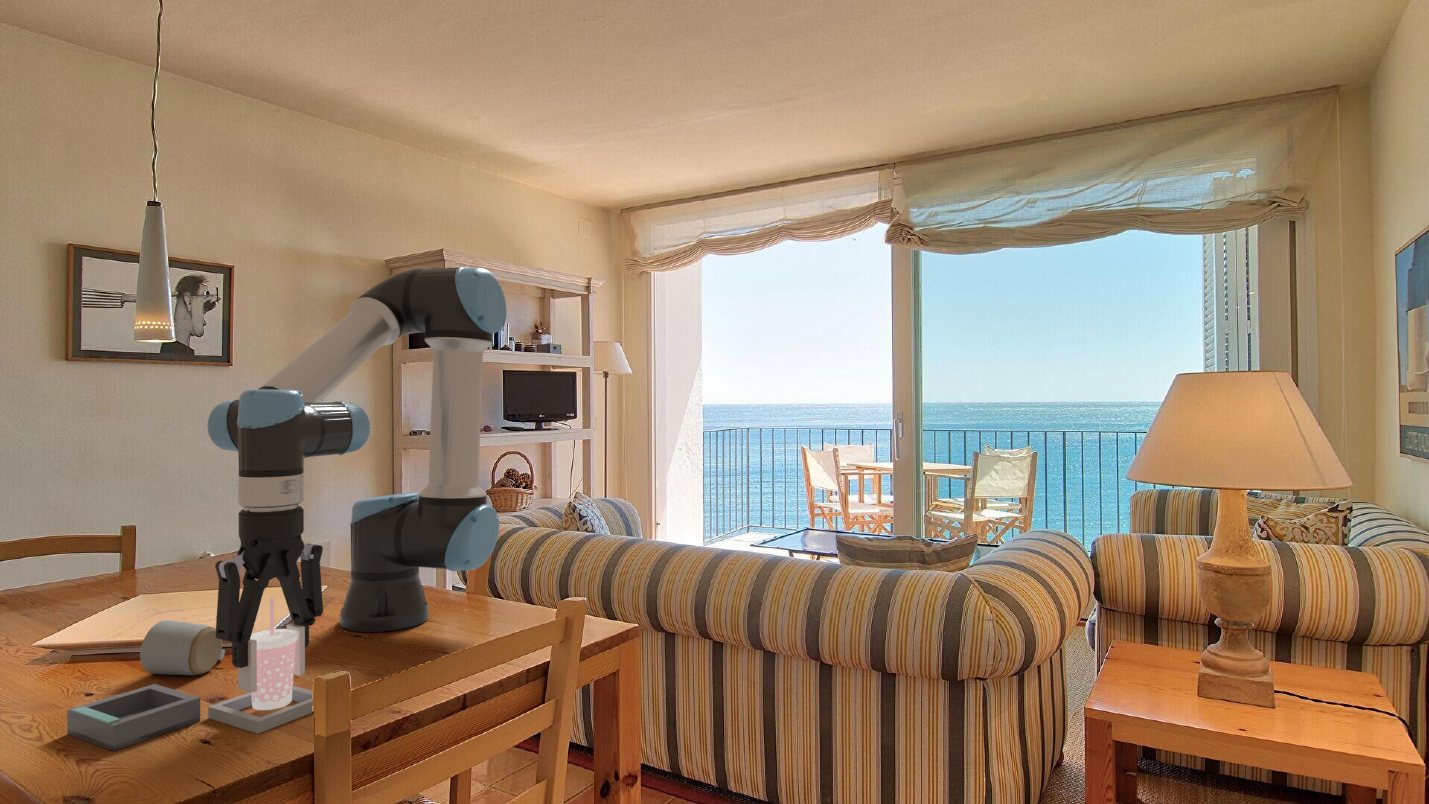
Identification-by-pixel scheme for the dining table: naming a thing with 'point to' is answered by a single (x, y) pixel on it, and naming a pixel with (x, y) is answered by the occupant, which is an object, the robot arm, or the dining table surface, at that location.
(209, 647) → the ceramic mug
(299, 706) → the gray rectangular frame
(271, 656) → the beverage cup
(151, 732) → the dark gray open tray
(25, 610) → the dining table surface
